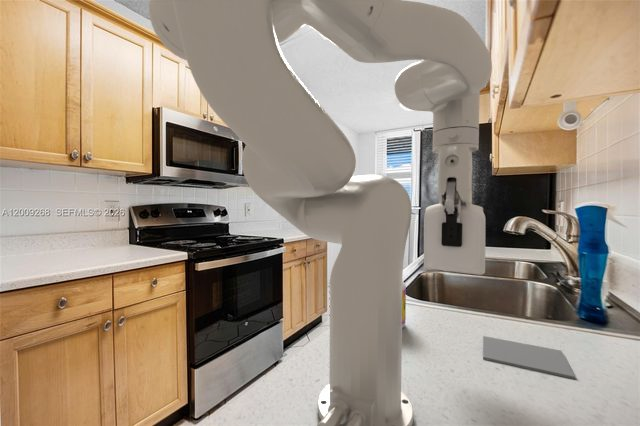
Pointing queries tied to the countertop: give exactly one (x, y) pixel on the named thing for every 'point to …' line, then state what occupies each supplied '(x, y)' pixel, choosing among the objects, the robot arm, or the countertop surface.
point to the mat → (526, 356)
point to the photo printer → (455, 258)
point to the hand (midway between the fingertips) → (453, 243)
